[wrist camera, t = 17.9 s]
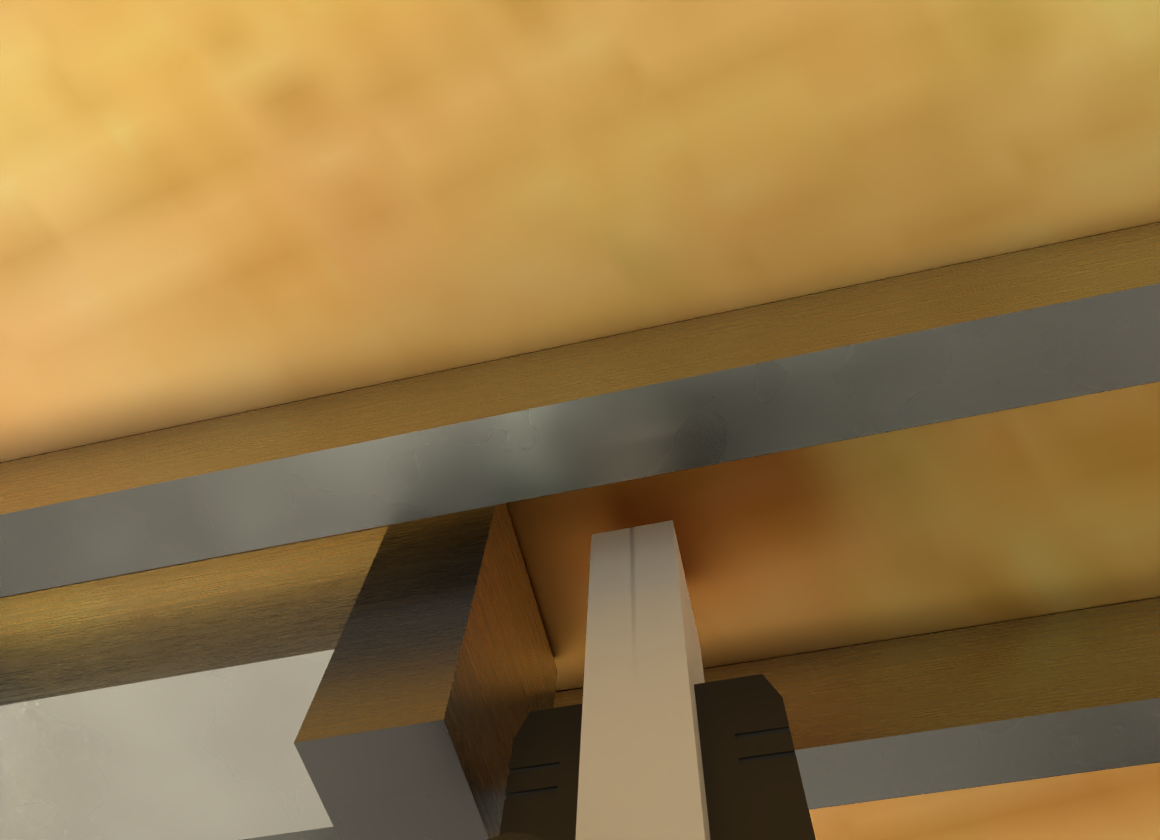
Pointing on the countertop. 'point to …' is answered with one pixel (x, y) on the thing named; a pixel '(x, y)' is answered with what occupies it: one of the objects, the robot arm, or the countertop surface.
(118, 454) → the channel
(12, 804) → the silver metal slider block
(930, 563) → the countertop surface
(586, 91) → the countertop surface
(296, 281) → the countertop surface
